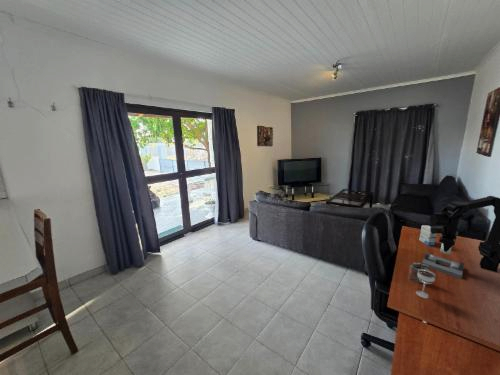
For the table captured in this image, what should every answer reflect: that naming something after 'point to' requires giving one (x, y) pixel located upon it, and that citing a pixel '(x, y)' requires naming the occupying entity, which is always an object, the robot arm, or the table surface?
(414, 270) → the grey box
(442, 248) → the coupler
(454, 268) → the shaft mount
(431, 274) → the wineglass
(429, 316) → the table surface
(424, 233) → the ink box
